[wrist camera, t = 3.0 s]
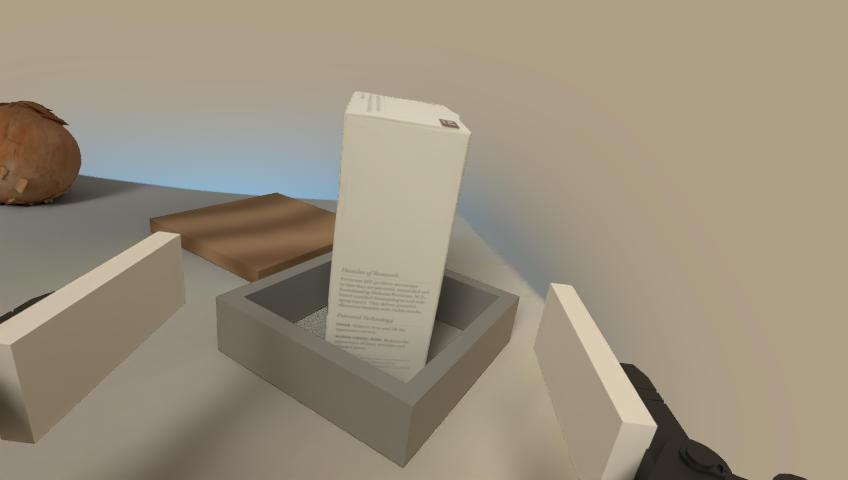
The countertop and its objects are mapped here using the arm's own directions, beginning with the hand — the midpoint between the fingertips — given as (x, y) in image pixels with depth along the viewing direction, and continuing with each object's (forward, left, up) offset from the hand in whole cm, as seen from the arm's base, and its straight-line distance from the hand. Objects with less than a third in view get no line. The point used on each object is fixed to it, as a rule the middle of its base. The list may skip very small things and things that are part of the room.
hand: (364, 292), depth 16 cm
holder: (-5, +8, -9) cm, 13 cm away
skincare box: (-5, +8, -9) cm, 13 cm away
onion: (-44, +4, -9) cm, 45 cm away
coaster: (-23, +15, -9) cm, 29 cm away
